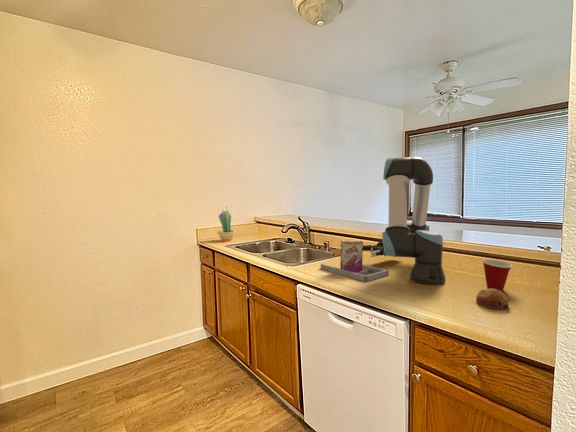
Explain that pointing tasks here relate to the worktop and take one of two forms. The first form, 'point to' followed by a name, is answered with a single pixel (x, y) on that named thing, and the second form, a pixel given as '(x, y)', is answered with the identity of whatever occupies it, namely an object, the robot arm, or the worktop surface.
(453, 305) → the worktop surface
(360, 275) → the channel
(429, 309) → the worktop surface
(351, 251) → the candy bar box
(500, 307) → the bread roll
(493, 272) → the plastic cup
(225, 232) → the potted cactus
